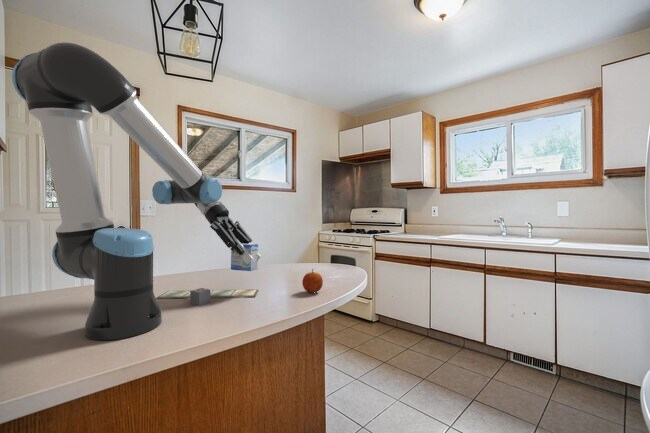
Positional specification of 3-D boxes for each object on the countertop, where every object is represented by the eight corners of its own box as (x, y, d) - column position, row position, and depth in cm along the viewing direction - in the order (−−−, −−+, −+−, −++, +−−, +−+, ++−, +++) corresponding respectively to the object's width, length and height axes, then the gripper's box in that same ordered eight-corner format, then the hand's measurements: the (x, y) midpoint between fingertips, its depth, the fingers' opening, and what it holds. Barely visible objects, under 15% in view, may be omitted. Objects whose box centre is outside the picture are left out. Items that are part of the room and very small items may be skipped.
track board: (259, 289, 106) (259, 288, 106) (255, 297, 97) (255, 296, 97) (168, 291, 103) (168, 290, 103) (155, 299, 94) (155, 297, 94)
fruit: (319, 296, 98) (319, 271, 98) (299, 294, 100) (299, 270, 100) (324, 290, 105) (324, 267, 105) (305, 289, 107) (305, 266, 107)
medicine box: (230, 269, 100) (230, 243, 100) (238, 267, 104) (238, 242, 104) (250, 271, 97) (251, 244, 97) (258, 269, 102) (258, 243, 102)
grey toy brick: (210, 302, 91) (210, 289, 91) (199, 306, 88) (199, 292, 88) (201, 300, 93) (201, 287, 93) (190, 304, 90) (190, 290, 90)
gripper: (223, 217, 114) (260, 264, 109) (189, 217, 97) (231, 272, 92) (235, 204, 112) (274, 250, 107) (202, 201, 96) (246, 255, 91)
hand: (254, 260), depth 100 cm, fingers closed on medicine box, 4 cm apart
